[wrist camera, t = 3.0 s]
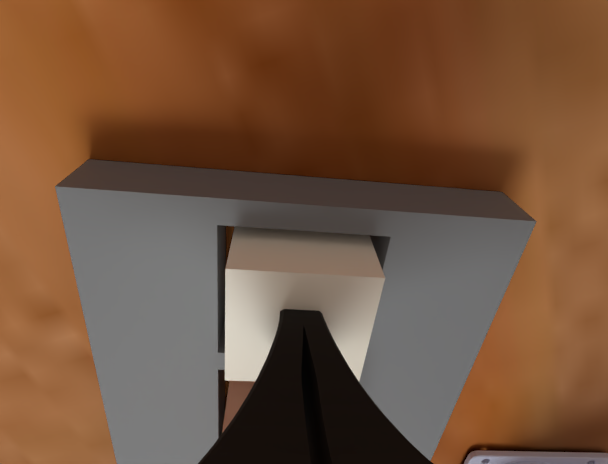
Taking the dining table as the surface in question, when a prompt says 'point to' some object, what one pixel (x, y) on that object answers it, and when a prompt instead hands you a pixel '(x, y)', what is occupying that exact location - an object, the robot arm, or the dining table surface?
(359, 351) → the cream key
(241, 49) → the dining table surface
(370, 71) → the dining table surface
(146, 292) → the grey rectangular frame
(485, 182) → the dining table surface
